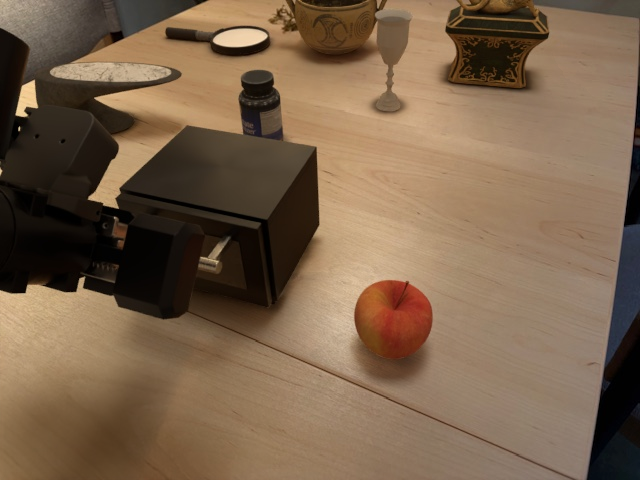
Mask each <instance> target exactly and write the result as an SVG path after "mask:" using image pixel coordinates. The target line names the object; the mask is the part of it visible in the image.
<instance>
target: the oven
mask: <svg viewBox="0 0 640 480" xmlns="http://www.w3.org/2000/svg"><path fill="white" fill-rule="evenodd" d="M318 168H319V167H318V147H317V145H316V146H315V145H310V144H303V143H298V142H293V141H286V140H284V141H280V140H274V139H267V138H261V137H255V136H249V135H243V133H236V132H231V131H225V130H219V129H212V128H207V127H200V126H194V125H189V124H187V125H185V126H184V127H183V128H182V129H181V130H180V131H178V133H176V135H174V137H172V138H171V139H170V140H169V141H168V142H167V143H166V144H165V145H164V146H163V147H162V148H161V149H160V150H158V151H157V153H155V154H154V155H153V156H152V157H151V158H149V160H148V161H147V162H145V163H144V164H143V166H141V167H140V168H139V169H138V170H137V171H136V172H135V173H134V174H133V175H131V176H130V178H128V179H127V180H126V181H125V182H124V183H123V184H122V185H121V186H120V187H118V190H119V194H120V193H124V194H129V195H133V196H138V197H143V198H147V199H152V200H157V201H161V202H166V203H171V204H175V205H180V206H185V207H189V208H194V209H199V210H203V211H208V212H212V213H217V214H222V215H226V216H231V217H236V218H240V219H245V220H250V221H254V222H259V223H262V229H263V236H264V244H265V251H266V259H267V266H268V274H269V281H270V288H271V296H272V303H271V305H273V306H274V305H276V302H278V301H279V299H280V298H281V295H282V293H283V292H284V290H285V288H286V286H287V285H288V283H289V281H290V279H291V278H292V275H293V274H294V272H295V270H296V269H297V268H298V267H297V266H298V264H299V263H300V261H301V260H302V258H303V256H304V254H305V252H306V250H307V249H308V247H309V245H310V244H311V242H312V239H313V238H314V236H315V234H316V232H317V231H318V229H319V227H320V225H321V224H320V199H319V198H320V197H319V195H320V194H319V175H318V174H319V173H318V172H319V171H318Z"/></svg>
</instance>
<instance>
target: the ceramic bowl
mask: <svg viewBox="0 0 640 480" xmlns="http://www.w3.org/2000/svg"><path fill="white" fill-rule="evenodd" d="M285 2H286V4H287V7H288V8H289V9H290V11H291V13H292V15H293V18H294V21H295V25H296V27H297V30H298V33H299V35H300V37H301V39H302V40H303V41H304V42H305V43H306V45H308V46H309V47H310V48H312V50H313V49H314V50H315V51H316V52H319V53H322V54H324V55H330V56H337V55H345V54H347V53H351V52H353V51H355V50H357V49H358V48H359V49H360V47H362V46H363V45H364V44H365V43H366V42H367V40H368V39H369V38H370V37H371V36H372V34H373V32H374V29H375V27H376V25H377V19H376V17H375V13H376V12H378V11H380V10H384V9H385V6H386V4H387V2H388V0H381V1H380V3H379V6H378V0H295V1H294V0H285Z"/></svg>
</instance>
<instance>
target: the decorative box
mask: <svg viewBox="0 0 640 480" xmlns="http://www.w3.org/2000/svg"><path fill="white" fill-rule="evenodd" d="M455 1H456V2H457V3H458V5H459V6H456V7H454V8H453V9H450V10H449V13H448V16H447V20H446V24H445V28H444V29H445V30H444V32H445V33H446V34H447V36H448V37H449V38H450V39H451V40H452V42H453V44H454V47H455V56H454V58H453V60H452V62H451V66H450V69H449V74H448V77H447V78H448V79H447V80H448V81H450V82H452V83H455V84H466V85H476V86H477V85H478V86H487V87H488V86H489V87H499V88H510V89H522V88H524V87H526V85H527V84H526V63H527V59H528V57H529V55H530V53H531V52H532V51H533V50H534V49H535V48H536V47H538V46H539V45H540V44H542V43H543V42H545V41H546V40H548V38H549V37H550V25H549V18H548V15H546V14H545V13H544V12H542V10H540V9H539V8H538V7H537V8H536V7H535V4H534V1H533V0H468V1H469V3H468V2H467V3H464V2H463V0H455Z"/></svg>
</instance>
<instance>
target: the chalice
mask: <svg viewBox="0 0 640 480" xmlns="http://www.w3.org/2000/svg"><path fill="white" fill-rule="evenodd" d="M375 17H376V19H377V22H376V26H377V27H376V45H377V48H378V52H379V55H380V56H381V59H382V62H383V64H385V65H387V71H386V73H385V75H386V77H387V79H386V81H385V82H384V83H385V85H386V90H385V92H383V93H381V94H380V96H379V98H378V99H377V102H376V103H375V108H377V109H378V110H379V111H382V112H395V111H397V110H399V109H400V108H401V103H400V100H399V97H398V95H397V94H396V93H395V92H393V90H392V87H393V86H394V84H395V82H394V81H393V78H394V75H395V72H394V69H393V68H394V66H397V65H398V64H399V62H400V60H401V58H402V57H403V55H404V53H405V52H406V49H407V47H408V44H409V36H410V35H409V33H410V24H411V23H410V22H411V21H412V19H413V17H414V15H413V13H412V12H411V11H408V10H405V9H402V8H401V9H400V8H383V10H380V11H378V12H376V13H375Z"/></svg>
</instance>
